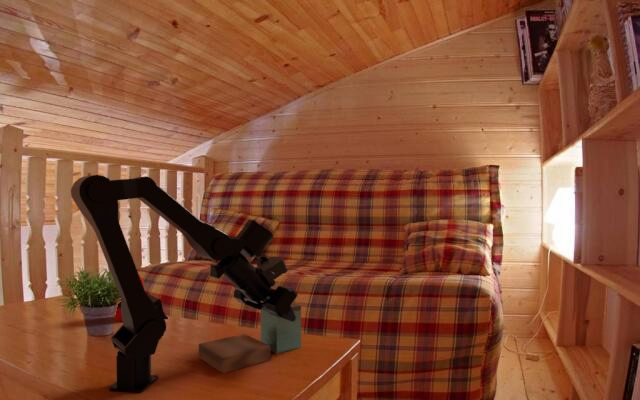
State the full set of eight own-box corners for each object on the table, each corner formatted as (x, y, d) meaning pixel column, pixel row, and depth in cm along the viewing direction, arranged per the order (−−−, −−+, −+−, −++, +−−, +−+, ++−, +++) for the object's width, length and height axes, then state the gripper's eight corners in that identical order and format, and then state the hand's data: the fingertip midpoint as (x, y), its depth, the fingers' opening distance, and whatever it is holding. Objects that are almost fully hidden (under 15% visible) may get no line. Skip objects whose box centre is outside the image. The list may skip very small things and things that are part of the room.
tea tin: (276, 353, 101) (276, 310, 100) (261, 345, 106) (260, 304, 106) (301, 347, 105) (300, 305, 105) (284, 340, 110) (284, 300, 110)
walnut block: (222, 373, 90) (222, 358, 90) (198, 357, 98) (198, 343, 98) (270, 360, 97) (270, 346, 97) (244, 346, 105) (244, 333, 105)
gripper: (289, 249, 95) (330, 295, 102) (244, 242, 110) (283, 282, 117) (256, 293, 90) (302, 337, 97) (214, 279, 105) (256, 319, 112)
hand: (285, 316), depth 106 cm, fingers closed on tea tin, 7 cm apart
